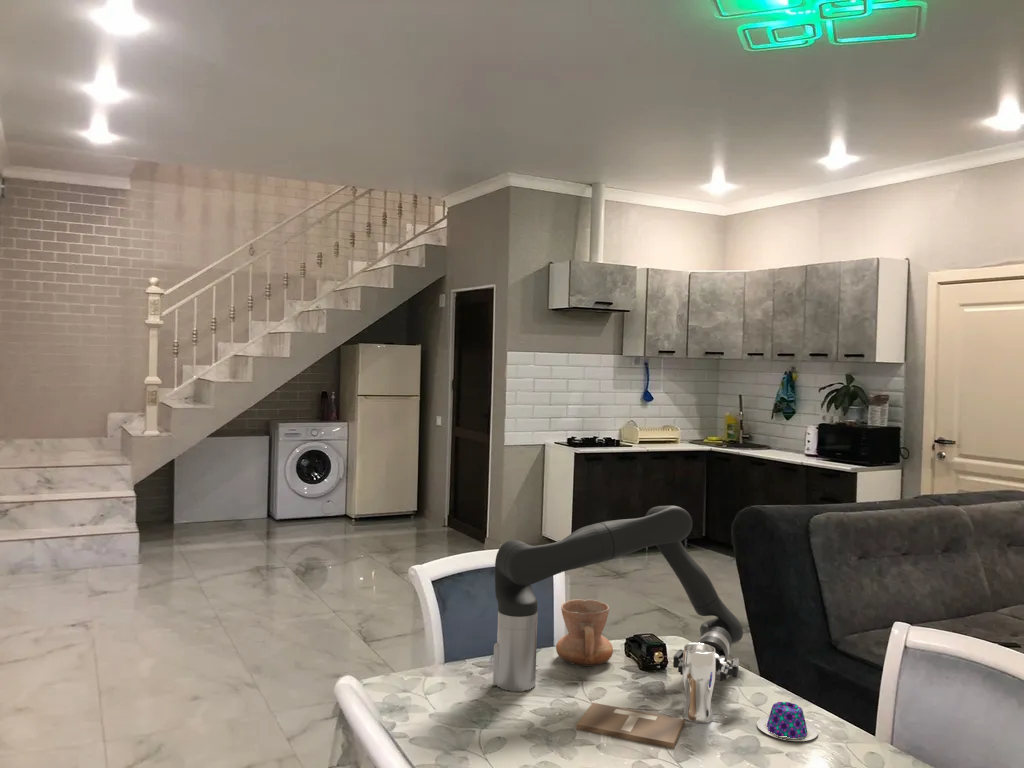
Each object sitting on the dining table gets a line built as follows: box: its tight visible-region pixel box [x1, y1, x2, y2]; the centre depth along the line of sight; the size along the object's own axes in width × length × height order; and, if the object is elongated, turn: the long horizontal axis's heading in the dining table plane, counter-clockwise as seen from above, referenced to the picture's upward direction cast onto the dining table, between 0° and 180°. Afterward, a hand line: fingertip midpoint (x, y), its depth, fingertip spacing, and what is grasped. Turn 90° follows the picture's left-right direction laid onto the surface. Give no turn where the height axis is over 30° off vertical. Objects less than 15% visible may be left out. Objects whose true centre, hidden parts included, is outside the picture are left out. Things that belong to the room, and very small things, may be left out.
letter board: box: [575, 702, 686, 749], centre depth 166 cm, size 20×12×1 cm, turn 68°
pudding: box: [756, 701, 819, 742], centre depth 166 cm, size 12×12×5 cm
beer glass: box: [682, 642, 717, 725], centre depth 171 cm, size 7×7×15 cm
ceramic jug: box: [555, 598, 614, 667], centre depth 203 cm, size 18×14×14 cm
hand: (701, 673), depth 175 cm, fingers open, 8 cm apart
